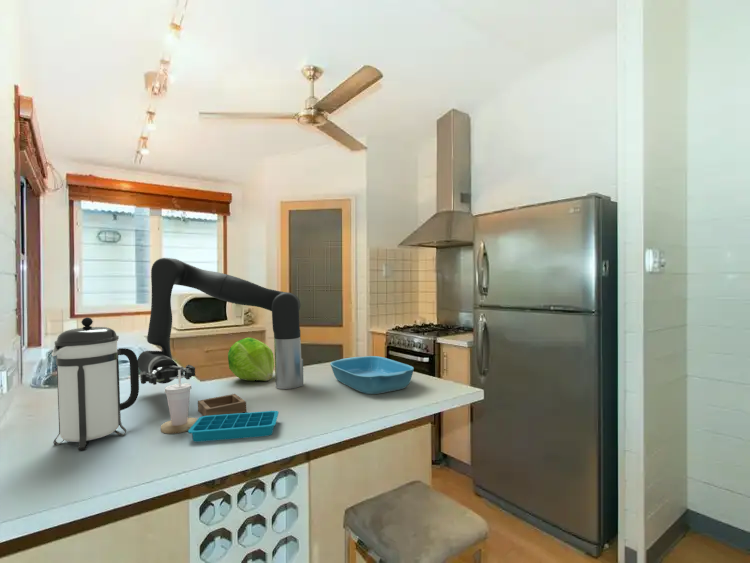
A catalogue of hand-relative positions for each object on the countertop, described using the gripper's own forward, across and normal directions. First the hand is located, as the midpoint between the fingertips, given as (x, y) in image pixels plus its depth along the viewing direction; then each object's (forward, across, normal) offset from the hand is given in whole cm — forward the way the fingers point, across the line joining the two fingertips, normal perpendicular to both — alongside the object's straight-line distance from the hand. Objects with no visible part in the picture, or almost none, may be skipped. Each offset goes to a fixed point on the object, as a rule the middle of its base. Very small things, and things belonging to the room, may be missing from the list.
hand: (172, 378), depth 115 cm
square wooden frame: (+4, +12, +11) cm, 17 cm away
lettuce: (-28, +32, +11) cm, 44 cm away
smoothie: (+10, 0, +10) cm, 14 cm away
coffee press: (+4, -18, +11) cm, 22 cm away
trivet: (+10, 0, +11) cm, 15 cm away
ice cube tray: (+22, +11, +12) cm, 27 cm away
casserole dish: (+7, +63, +12) cm, 65 cm away
